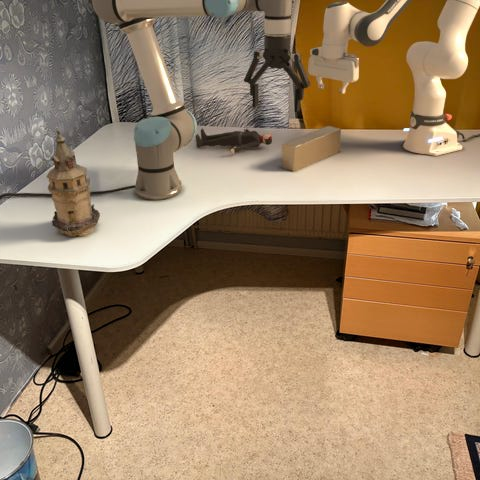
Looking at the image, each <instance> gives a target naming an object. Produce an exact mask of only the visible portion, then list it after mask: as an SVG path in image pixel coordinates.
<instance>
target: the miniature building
mask: <svg viewBox="0 0 480 480" xmlns="http://www.w3.org/2000/svg"><path fill="white" fill-rule="evenodd" d="M56 134H57V136H56V138H55V140H54V141H55V142H56V147H55V154H54V156H52V157H51V161H52V162H53V165H54V167H53V168H51V169H50V170H49V171H48V173H47V174H46V178H47V179H48V182H49V184H48V186H47V190H48V191H49V193H50V194H52V196H51V200H52V201H53V205H54V209H55V211H53V217H52V220H51V223H52V225H51V227H54V228H56V229H58V230H59V231H60V234H63V235H64V234H65V235H66V236H69V237H77V236H80V237H83V236H87V235H88V234H90V233H93V232H94V231H95V229H96V226H97V225H98V223H99V220H100V216H101V213H100V212H99V210H98V209H96V208H95V204H92V201H91V200H92V199H91V198H92V197H91V195H90V192H92V190H91V188H90V184H91V178H89V177H88V174H87V167H85V166H84V165H83V166H82V165H80V164H77V160H76V154H75V151H74V150H70V149H69V147H68V145H67V143H66V138H65V137H64V136H63V135H61V130H60V129H56Z"/></svg>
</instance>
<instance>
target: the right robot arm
mask: <svg viewBox="0 0 480 480" xmlns="http://www.w3.org/2000/svg"><path fill="white" fill-rule="evenodd" d="M411 2H412V0H386V1H384V3H383V4H382V5H381V6H380V7H379V8H378V9H377V10H376V11H373V12H370V13H369V12H367V11H364V10H361V9H359V8H356V7H355V6H353V5H352V4H350V3H349V1H347V0H341V1H340V0H339V1H334V2H331V3H329V4H328V5H327V6H326V8H325V11H324V17H323V23H322V24H323V26H322V32H323V39H322V41H321V45H319V46H318V47H314V48H310V50H309V53H310V57H309V58H308V63H307V65H308V66H307V72H308V74H309V76H312V77H313V76H314V77H316V82H317V85H318V86H317V87H318V90H324V89H325V83H323V78H325V79H329V80H336V81H341V82H342V86H341V87H339V91H338V92H339V94H346V91H347V90H346V89H347V87H348V86H349V84H350V83H355V82H357V81H358V80H359V76H360V67H359V64H360V59H359V57H358V56H357V54H351V53H348V45H349V40H353V41H355V42H358V43H359V44H361V45H363V46H364V47H370V48H371V47H375V46H377V45H378V44H380V43H382V41H383V39H384V38H385V36H386V35H387V33H388V30H390V27H391V25H392V24H393V23H394V21H396V19H397V18H398V17H399V16H400V15H401V14H402V12H403V11H404V10H405V9H406V8H407V7H408V5H410V3H411ZM479 8H480V0H446V2H445V4H444V6H443V8H442V10H441V12H440V14H439V16H438V19H437V21H436V23H437V24H436V25H437V27H438V29H439V39H438V42H435V41H434V42H433V41H428V40H425V41H417V42H414V43H413V44H411V46H410V47H409V48H408V50H407V52H406V57H405V58H406V63H407V65H408V66H409V68H410V70H411V74H412V78H413V85H414V95H413V96H414V97H413V105H412V110H411V112H410V117H409V128H407V127H406V128H403V132H407V135H406V137H405V140H404V143H403V144H402V147H403V149H404V150H406V151H408V152H411V153H417V154H422V155H429V156H434V157H435V156H436V157H437V156H441V155H445V154H448V153H453V152H457V151H462V150H463V145H462V144H460V143H459V142H458V139H459V136H461V137H462V142H468V141H470V140H472V139H473V138H475V137H480V133H476V134H477V135H476V134H472V135H471V136H469V137H468V138H467V139H466V138H465V135H464V134H463V133H462V132H460V131H459V130H457V129H455V128H453V127H451V126H450V124H448V123H447V121H451V119H452V118H453V116H452V114H449V113H445V112H444V109H445V103H446V98H447V92H446V89H445V87H444V86H443V85H442V81H441V79H443V80H456V79H458V78H460V77H462V76H463V75H464V74H465V72H466V70H467V68H468V65H469V64H468V63H469V58H468V54H467V52H466V41H467V35H468V33H469V30H470V28H471V26H472V24H473V21H474V19H475V18H476V14H477V13H478V10H479ZM446 120H447V121H446ZM463 139H465V140H463Z"/></svg>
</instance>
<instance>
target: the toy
mask: <svg viewBox="0 0 480 480" xmlns="http://www.w3.org/2000/svg"><path fill="white" fill-rule="evenodd" d="M272 143H273V136H272V135H271V134H267V133H266V134H262V135H261V134H260V133H259V132H258V131H256V130H249V129H248V128H243V131H242V130H241V131H240V130H234V131H227V132H222V133H216V134H207V133H206V131H205V129H204V128H203V127H202V128H201V129H200V134H198V133H196V135H195V144H196V145H195V146H196V148H198V149H199V148H202V147H210V148H211V147H231V149H230V151H229V152H230V153H231V154H233V155H234V154H237V153H240V152H241V151H244V150H247V149H251V150H257V149H259V148H260V147H261V145H262V144H263V145H266V146H269V145H271V144H272Z"/></svg>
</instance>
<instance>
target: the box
mask: <svg viewBox="0 0 480 480" xmlns="http://www.w3.org/2000/svg"><path fill="white" fill-rule="evenodd" d="M341 133H342V128H339V127H335V126H332V125H331V126H330V125H327V126H324V127H321V128H319V129H316V130H313V131H311V132H309V133H306V134H303V135H301V136H298V137H295V138H293V139H291V140H287V141H285V142H282V143H281V168H282V169H286V170H288V171H292V172H297V171H298V170H301V169H303V168H306V167H309V166H310V165H312V164H314V163H318V162H319V161H322V160H323V159H326V158H329V157H330V156H334V155H335V154H337V153H339V152H340V146H341Z"/></svg>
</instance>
